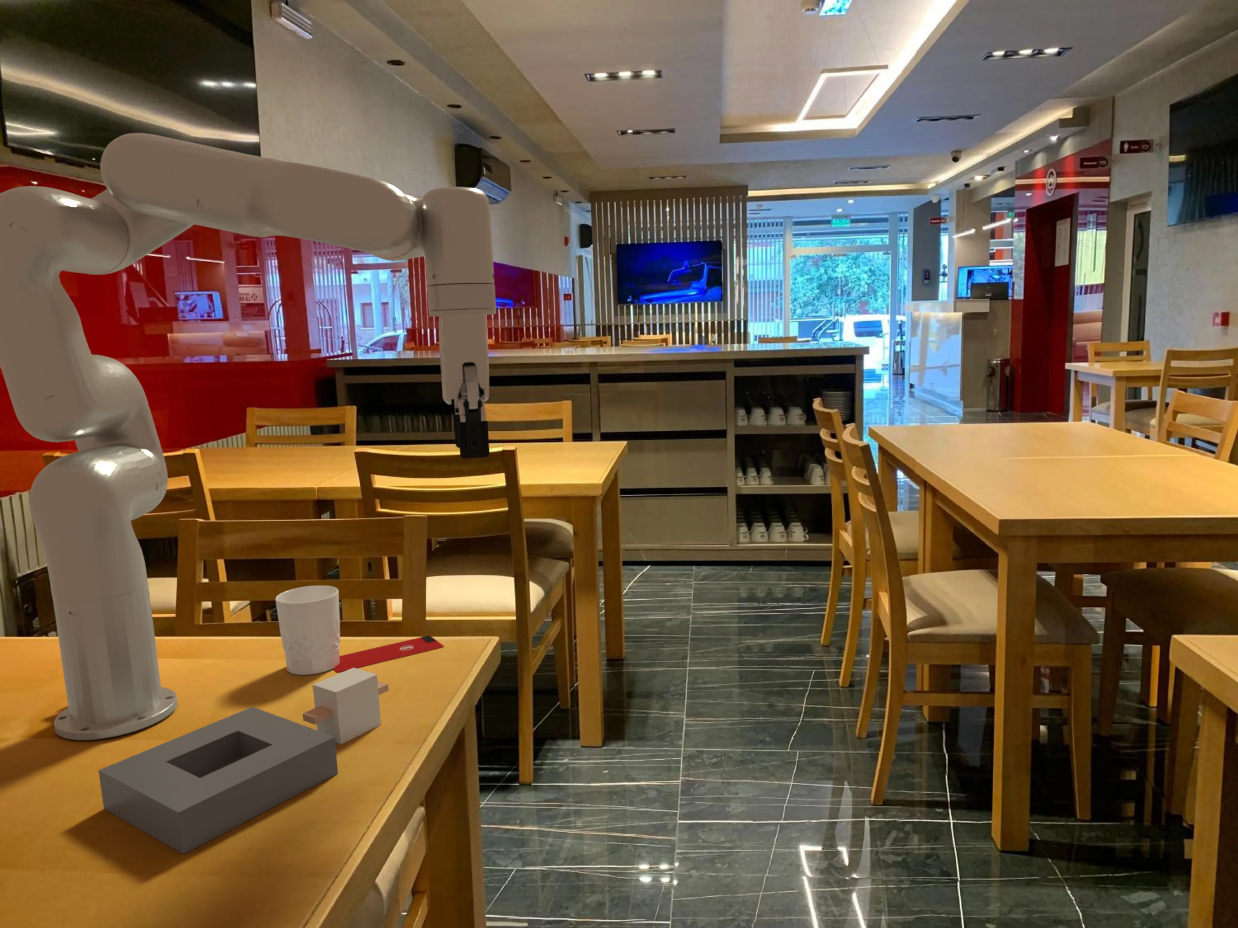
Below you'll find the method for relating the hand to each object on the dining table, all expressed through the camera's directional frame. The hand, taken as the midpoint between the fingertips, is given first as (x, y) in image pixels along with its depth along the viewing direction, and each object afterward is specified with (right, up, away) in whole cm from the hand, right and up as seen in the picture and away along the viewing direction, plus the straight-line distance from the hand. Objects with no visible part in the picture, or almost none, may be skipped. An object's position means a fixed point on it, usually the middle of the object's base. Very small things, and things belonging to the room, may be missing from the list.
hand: (471, 451), depth 101 cm
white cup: (-24, -29, +16) cm, 40 cm away
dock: (-21, -33, -16) cm, 43 cm away
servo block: (-13, -31, -4) cm, 34 cm away
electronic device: (-15, -28, +19) cm, 37 cm away
